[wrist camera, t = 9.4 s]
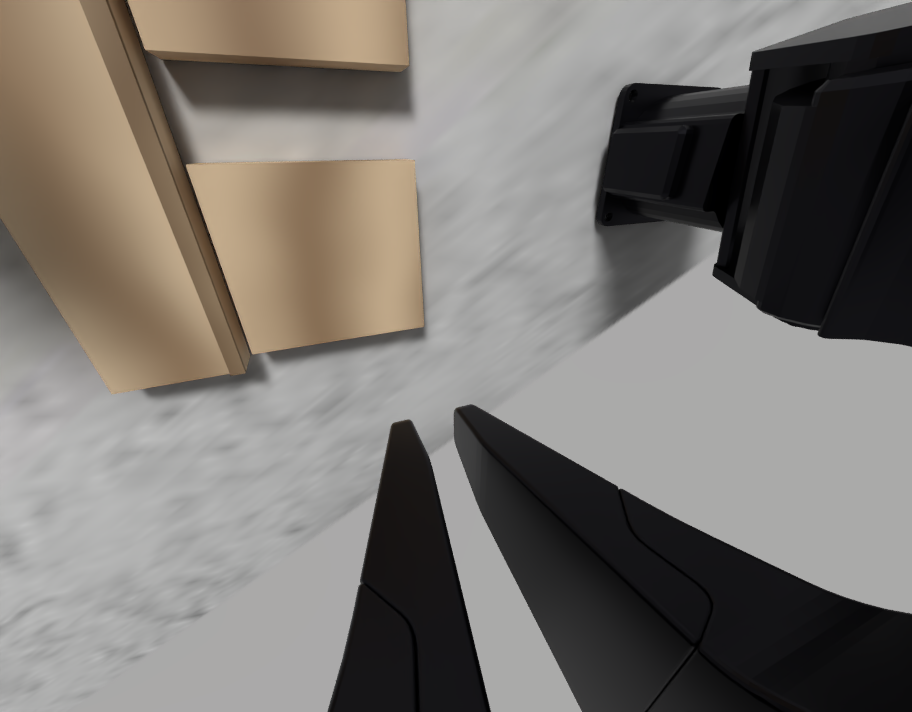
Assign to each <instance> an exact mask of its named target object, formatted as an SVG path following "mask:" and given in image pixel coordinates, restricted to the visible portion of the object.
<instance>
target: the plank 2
mask: <svg viewBox="0 0 912 712" xmlns="http://www.w3.org/2000/svg"><path fill="white" fill-rule="evenodd" d="M186 168H187V170H188V173H189V176H190V179H191V182H192V185H193V187H194V190H195V193H196V196H197V199H198V202H199V204H200V207H201V210H202V213H203V216H204V219H205V222H206V224H207V227H208V230H209V233H210V236H211V239H212V241H213V244H214V247H215V250H216V253H217V256H218V258H219V261H220V264H221V267H222V270H223V273H224V275H225V278H226V281H227V284H228V287H229V290H230V292H231V295H232V298H233V301H234V304H235V307H236V310H237V312H238V315H239V318H240V321H241V324H242V327H243V329H244V332H245V335H246V338H247V341H248V344H249V346H250V349H251V352H252V354H258V353H264V352H271V351H277V350H283V349H289V348H295V347H302V346H308V345H314V344H320V343H327V342H333V341H339V340H345V339H351V338H358V337H364V336H370V335H376V334H382V333H389V332H395V331H401V330H407V329H413V328H420V327H424V313H423V296H422V279H421V262H420V245H419V228H418V211H417V194H416V177H415V160H408V159H395V160H342V161H289V162H236V163H194V164H188V165H186Z"/></svg>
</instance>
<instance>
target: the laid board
mask: <svg viewBox="0 0 912 712" xmlns="http://www.w3.org/2000/svg"><path fill="white" fill-rule="evenodd" d="M0 218H1V220H2V221H3V223H4V225H5V226H6V228H7V229H8V231H9V232H10V234H11V236H12V237H13V239H14V240H15V242H16V243H17V245H18V247H19V248H20V250H21V251H22V253H23V255H24V256H25V258H26V259H27V261H28V262H29V264H30V266H31V267H32V269H33V270H34V272H35V274H36V275H37V277H38V278H39V280H40V281H41V283H42V285H43V286H44V288H45V289H46V291H47V293H48V294H49V296H50V297H51V299H52V300H53V302H54V304H55V305H56V307H57V308H58V310H59V311H60V313H61V315H62V316H63V318H64V319H65V321H66V323H67V324H68V326H69V327H70V329H71V330H72V332H73V334H74V335H75V337H76V338H77V340H78V342H79V343H80V345H81V346H82V348H83V349H84V351H85V353H86V354H87V356H88V357H89V359H90V361H91V362H92V364H93V365H94V367H95V368H96V370H97V372H98V373H99V375H100V376H101V378H102V379H103V381H104V383H105V384H106V386H107V387H108V389H109V391H110V392H111V394H117V393H122V392H128V391H134V390H140V389H145V388H151V387H157V386H163V385H168V384H174V383H180V382H186V381H191V380H197V379H203V378H208V377H214V376H220V375H226V374H230V375H231V376H233V375H238V374H244V373H246V370H247V366H248V362H249V359H250V353H249V350H248V347H247V344H246V341H245V339H244V336H243V333H242V330H241V327H240V324H239V322H238V319H237V316H236V313H235V310H234V308H233V305H232V302H231V299H230V296H229V294H228V291H227V288H226V285H225V282H224V280H223V277H222V274H221V271H220V268H219V265H218V263H217V260H216V257H215V254H214V251H213V249H212V246H211V243H210V240H209V237H208V235H207V232H206V229H205V226H204V223H203V221H202V218H201V215H200V212H199V209H198V206H197V204H196V201H195V198H194V195H193V192H192V190H191V187H190V184H189V181H188V178H187V176H186V173H185V170H184V167H183V164H182V161H181V159H180V156H179V153H178V150H177V147H176V145H175V142H174V139H173V136H172V133H171V131H170V128H169V125H168V122H167V119H166V117H165V114H164V111H163V108H162V105H161V102H160V100H159V97H158V94H157V91H156V88H155V86H154V83H153V80H152V77H151V74H150V72H149V69H148V66H147V63H146V60H145V57H144V55H143V52H142V49H141V46H140V43H139V41H138V38H137V35H136V32H135V29H134V27H133V24H132V21H131V18H130V15H129V13H128V10H127V7H126V4H125V1H124V0H0Z"/></svg>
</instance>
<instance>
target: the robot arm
mask: <svg viewBox="0 0 912 712" xmlns="http://www.w3.org/2000/svg"><path fill="white" fill-rule="evenodd" d="M749 71H752V73H751V79H750V84H749V85H745V86H738V87H731V88H724V89H721V88H715V87H698V86H680V85H662V84H645V83H633V84H628V85H626V86H625V87H623V89H622V90H621V92H620V95H619V99H618V104H617V110H616V115H615V121H614V126H613V131H612V137H611V142H610V147H609V153H608V158H607V163H606V169H605V174H604V180H603V185H602V190H601V196H600V201H599V206H598V212H597V223H598V224H600V225H604V226H614V225H625V224H636V223H647V222H658V221H670V222H675V223H680V224H685V225H690V226H694V227H699V228H704V229H709V230H714V231H719V232H722V237H721V243H720V248H719V254H718V259H717V263H716V264H714V269H713V276H714V277H715V278H717V279H718V280H720V281H721V282H723V283H724V284H725V285H727V286H728V287H730V288H731V289H733V290H734V291H736V292H737V293H739V294H740V295H742V296H743V297H745V298H746V299H748V300H749V301H751V302H752V303H754V304H755V305H756V306H757V308H758V309H759V310H760V311H762V312H763V313H765V314H768V315H771V316H773V317H775V318H777V319H779V320H780V321H782V322H785V323H787V324H789V325H791V326H795V327H801V328H806V329H810V330H817V331H818V336H820V337H822V338H828V339H860V340H871V341H878V342H886V343H894V344H902V345H906V346H911V347H912V2H910V3H906V4H902V5H898V6H895V7H891V8H887V9H883V10H879V11H875V12H871V13H867V14H863V15H860V16H856V17H852V18H848V19H845V20H842V21H839V22H837V23H834V24H831V25H828V26H825V27H822V28H819V29H817V30H814V31H811V32H808V33H805V34H802V35H799V36H797V37H794V38H791V39H788V40H785V41H782V42H779V43H777V44H774V45H771V46H768V47H765V48H762V49H759V50H757V51H754V52H752V56H751V62H750V67H749ZM630 92H631V99H630V101H629V94H630ZM607 213H608V215H607V218H606V219H605V216H606V214H607ZM454 440H455V444H456V448H457V450H458V453H459V456H460V458H461V461H462V464H463V467H464V469H465V472H466V475H467V477H468V480H469V483H470V485H471V488H472V491H473V493H474V496H475V499H476V501H477V504H478V506H479V509H480V511H481V513H482V515H483V517H484V519H485V521H486V523H487V525H488V527H489V529H490V531H491V533H492V535H493V537H494V539H495V541H496V543H497V545H498V547H499V549H500V551H501V553H502V555H503V557H504V559H505V561H506V563H507V565H508V567H509V569H510V571H511V573H512V574H513V577H514V578H515V580H516V582H517V584H518V586H519V588H520V590H521V592H522V594H523V596H524V598H525V600H526V602H527V604H528V606H529V608H530V610H531V612H532V614H533V616H534V618H535V620H536V622H537V624H538V626H539V628H540V630H541V631H542V634H543V636H544V638H545V640H546V642H547V643H548V645H549V647H550V649H551V651H552V653H553V655H554V657H555V659H556V661H557V663H558V665H559V667H560V669H561V671H562V673H563V675H564V677H565V679H566V681H567V683H568V685H569V687H570V689H571V691H572V693H573V695H574V697H575V699H576V701H577V703H578V705H579V706H580V708H581V710H582V712H912V614H910V613H904V612H899V611H893V610H888V609H884V608H880V607H876V606H872V605H868V604H865V603H861V602H858V601H855V600H852V599H849V598H846V597H843V596H840V595H837V594H835V593H832V592H830V591H827V590H825V589H822V588H820V587H818V586H816V585H813V584H811V583H809V582H807V581H805V580H802V579H800V578H798V577H796V576H794V575H792V574H790V573H788V572H786V571H784V570H781V569H779V568H777V567H775V566H773V565H771V564H769V563H767V562H764V561H762V560H761V559H758V558H756V557H754V556H752V555H750V554H748V553H746V552H744V551H742V550H740V549H737V548H735V547H733V546H731V545H729V544H727V543H725V542H723V541H721V540H719V539H716V538H714V537H712V536H710V535H708V534H706V533H704V532H702V531H700V530H698V529H696V528H694V527H692V526H690V525H688V524H686V523H684V522H682V521H680V520H678V519H676V518H674V517H672V516H670V515H668V514H667V513H665V512H663V511H661V510H659V509H657V508H655V507H654V506H652V505H650V504H648V503H646V502H645V501H643V500H641V499H639V498H637V497H636V496H634V495H632V494H630V493H629V492H627V491H625V490H623V489H618V487H617V486H616V485H614V484H612V483H611V482H609V481H607V480H605V479H604V478H602V477H600V476H598V475H597V474H595V473H593V472H591V471H589V470H588V469H586V468H584V467H582V466H581V465H579V464H577V463H575V462H574V461H572V460H570V459H568V458H567V457H565V456H563V455H561V454H560V453H558V452H556V451H554V450H552V449H551V448H549V447H547V446H545V445H544V444H542V443H540V442H538V441H536V440H535V439H533V438H531V437H530V436H528V435H526V434H524V433H522V432H521V431H519V430H517V429H515V428H514V427H512V426H510V425H508V424H507V423H505V422H503V421H501V420H499V419H498V418H496V417H494V416H493V415H491V414H489V413H487V412H485V411H484V410H482V409H480V408H478V407H477V406H475V405H472V404H471V405H466V406H462V407H458V408H456V409H455V410H454ZM360 582H361V584H360V585H359V587H358V592H357V597H356V602H355V607H354V611H353V616H352V621H351V625H350V629H349V633H348V638H347V642H346V646H345V651H344V655H343V659H342V663H341V666H340V670H339V673H338V677H337V680H336V684H335V687H334V691H333V695H332V698H331V701H330V705H329V708H328V712H491V710H490V706H489V702H488V698H487V694H486V690H485V685H484V681H483V677H482V673H481V669H480V664H479V660H478V656H477V652H476V648H475V644H474V640H473V635H472V631H471V627H470V623H469V619H468V614H467V611H466V606H465V602H464V598H463V594H462V590H461V585H460V581H459V577H458V573H457V569H456V564H455V560H454V556H453V552H452V548H451V544H450V539H449V535H448V531H447V527H446V523H445V519H444V514H443V510H442V506H441V502H440V498H439V494H438V489H437V485H436V481H435V477H434V473H433V469H432V465H431V462H430V459H429V456H428V454H427V452H426V450H425V448H424V445H423V443H422V441H421V439H420V437H419V435H418V433H417V431H416V429H415V427H414V424H413V422H412V421H411V420H409V419H408V420H404V421H399V422H395V423H393V424H392V425H391V429H390V434H389V439H388V444H387V449H386V454H385V459H384V464H383V469H382V474H381V479H380V484H379V489H378V494H377V499H376V504H375V509H374V514H373V519H372V524H371V529H370V534H369V539H368V543H367V549H366V553H365V558H364V564H363V569H362V573H361V579H360Z"/></svg>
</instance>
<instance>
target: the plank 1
mask: <svg viewBox="0 0 912 712" xmlns="http://www.w3.org/2000/svg"><path fill="white" fill-rule="evenodd" d="M128 3H129V6H130V9H131V11H132V14H133V17H134V20H135V23H136V26H137V28H138V31H139V34H140V37H141V40H142V43H143V45H144V48H145V50H146V51H148V52H150V53H151V54H153V55H155V56H156V57H158V58H160V59H164V60H183V61H202V62H221V63H239V64H258V65H277V66H296V67H315V68H334V69H353V70H371V71H390V72H402V71H403V70H404V69H405V68H407V67H408V66H409V54H408V36H407V19H406V2H405V0H128Z"/></svg>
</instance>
